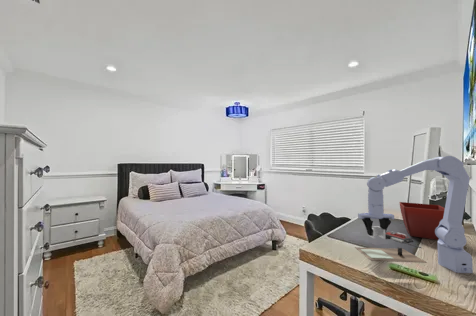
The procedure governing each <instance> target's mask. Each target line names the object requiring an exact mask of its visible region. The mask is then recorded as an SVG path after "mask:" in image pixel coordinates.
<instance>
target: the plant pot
mask: <svg viewBox="0 0 476 316" xmlns="http://www.w3.org/2000/svg"><path fill="white" fill-rule="evenodd" d="M398 204H399V208H400V213H401V217H402V221H403V224H404V227H405V229H406V231H407V233H408V234H409V236H410V237H415V238H421V239H428V240H429V239H430V240H436V241H438V240H439V238H438V237H437V236H436V234H435V229H436V228H437V227H438V226H439V223H440V221H441V220H442V219H443V216H444V210H445V207H443V206H441V205H439V204H430V203H429V204H428V203H416V202H405V201H399V203H398Z"/></svg>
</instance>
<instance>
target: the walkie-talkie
mask: <svg viewBox="0 0 476 316" xmlns="http://www.w3.org/2000/svg"><path fill="white" fill-rule="evenodd" d="M385 240H392V241H395V242H397V243H402V244H404V245H405V244H406V245H409V246H413V247H415V248H418V249H422V246H418V245H416V244H412V242H413V238H412V237H411V236H410V237H409V236H408V235H407V234H405V233H402V232H398V231H397V232H394V231H386V233H385ZM409 242H410V243H409Z"/></svg>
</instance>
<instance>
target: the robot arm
mask: <svg viewBox="0 0 476 316" xmlns="http://www.w3.org/2000/svg"><path fill="white" fill-rule="evenodd" d="M424 171H435V172H437V173H440V175H443V176H444V177H445V178H447V180H448V187H447V194H446V199H445V205H444V206H445V207H444V208H445V210H444V216H443V219H442V220H441V221H440V223H439V226H438V227H437V228H436V229H435V234H436V236H437V237H438V238H439V240H437V263H438V265H439V266H442V267H444V268H446V269H448V270H449V271H450V270H451V271H452V272H454V273H459V274H460V273H461V274H473V273H474V272H473V271H474V269H473V267H474V266H473V257H472V255H471V253H469V252H467V251H466V250H465V249H464V246H466V244H467V243H468V242H467V238H466V235H465V232H466V230H465V227H464V226H463V220H464V219H463V218H464V214H465V213H464V212H465V206H466V200H467V196H468V191H469V184H470V176H469V174H468V172H467V170H466V168H465V167H464V162H463V161H461V160H460V159H459V158H457V157H455V156H453V155H446V156H435V157H433V158H429V159H424V160H422V161H419V162H417V163H415V164H412V165H410V166H407V167H405V168H403V169H400V170H398V169H388V170H387V172H384V173H382V174H376V177H375V176H373V177H370V178H369V179H368V180H367V182H366V185H367V187H368V193H367V201H368V203H367V207H368V209H367V210H368V212H363V213H360V212H359V213H357V217H358V219H361V220H362V222H363V224H364V227H365V230H366V234H368V235H370V236H372V226H373V223H374V221H373V219H375V220H376V219H378V223H379V227H381V228H383V229H385V233H386V232H387V230H388V227H389V226H390V225H391V223H392V220H395V215H394V214H392V213H384V210H385V209H384V192H383V191H384V189H385V188H388V187H391V186H392V185H396V184H398V183H401V182H403V181H404V179H405V177H409V176H412V175H414V174H418V173H421V172H424ZM368 235H367V236H368ZM370 236H369V237H370Z"/></svg>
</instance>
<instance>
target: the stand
mask: <svg viewBox="0 0 476 316" xmlns="http://www.w3.org/2000/svg"><path fill="white" fill-rule="evenodd" d="M354 249H356V250H357V251H358V252H360V253H361V254H362V255H363V256H364V257H366V258H367V259H368V260H369V261H371V262H394V263H422V264H423V263H424V264H425V263H428V261H425V260H423V259H422V258H420V257H419V256H417V255H414V253H411V252H410V251H407V250H406V249H404V248H402V247H400V246H398V247H397V248H394V247H393V248H392V247H391V248H390V247H389V248H388V247H387V248H385V247H384V248H382V247H354Z"/></svg>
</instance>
